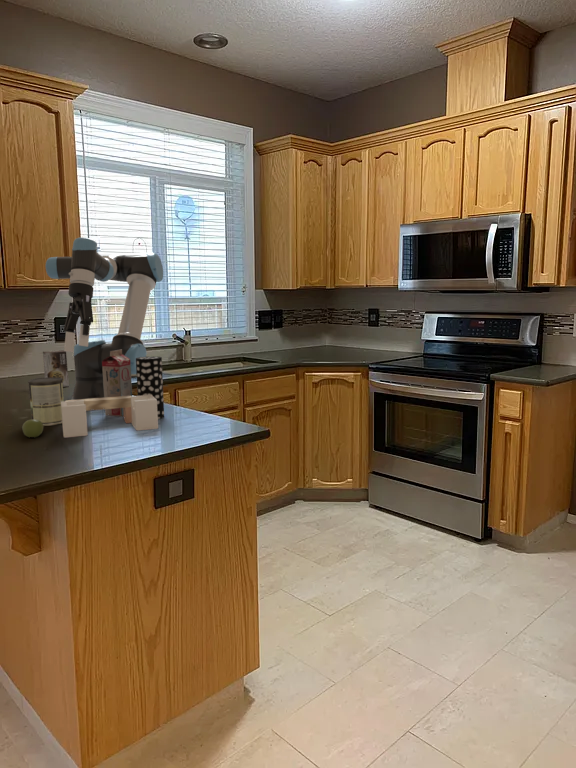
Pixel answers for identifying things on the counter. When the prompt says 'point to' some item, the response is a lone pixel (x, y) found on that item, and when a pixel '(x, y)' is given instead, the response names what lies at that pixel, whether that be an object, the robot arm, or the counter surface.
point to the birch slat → (106, 403)
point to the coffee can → (46, 400)
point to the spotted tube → (151, 380)
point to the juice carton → (116, 379)
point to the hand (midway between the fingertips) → (75, 349)
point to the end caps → (140, 409)
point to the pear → (32, 428)
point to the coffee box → (56, 365)
